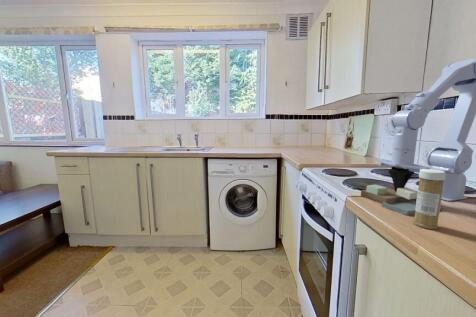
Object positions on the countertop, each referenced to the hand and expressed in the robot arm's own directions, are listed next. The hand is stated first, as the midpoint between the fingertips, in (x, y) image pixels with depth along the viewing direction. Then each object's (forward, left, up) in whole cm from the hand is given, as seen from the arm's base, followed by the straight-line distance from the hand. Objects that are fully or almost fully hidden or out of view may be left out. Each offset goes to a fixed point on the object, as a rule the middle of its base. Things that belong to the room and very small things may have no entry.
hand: (398, 191), depth 72 cm
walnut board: (+2, -2, -3) cm, 4 cm away
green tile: (+6, -3, -1) cm, 7 cm away
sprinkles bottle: (+12, +16, -3) cm, 20 cm away
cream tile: (0, +3, -1) cm, 3 cm away
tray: (+3, +6, -3) cm, 8 cm away
